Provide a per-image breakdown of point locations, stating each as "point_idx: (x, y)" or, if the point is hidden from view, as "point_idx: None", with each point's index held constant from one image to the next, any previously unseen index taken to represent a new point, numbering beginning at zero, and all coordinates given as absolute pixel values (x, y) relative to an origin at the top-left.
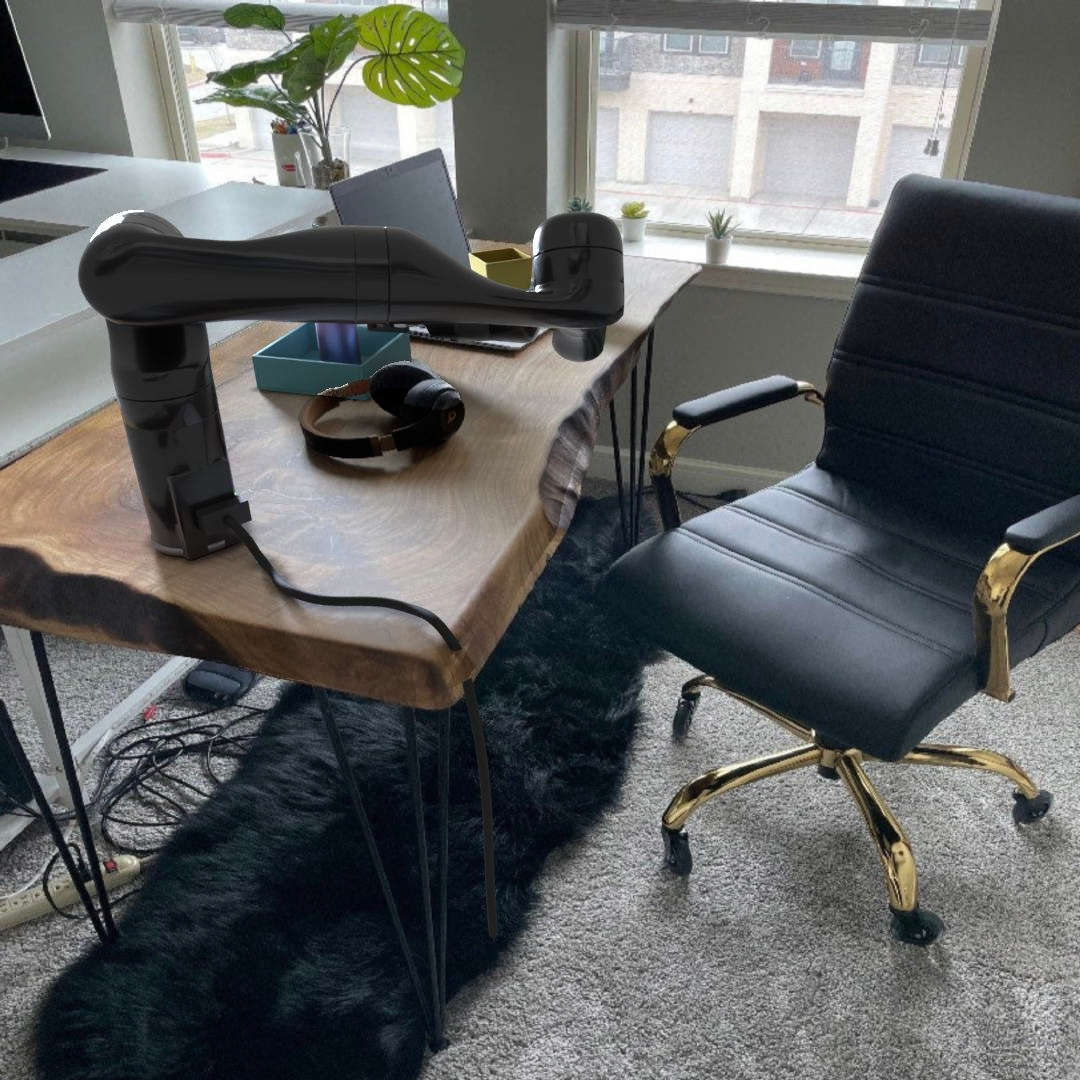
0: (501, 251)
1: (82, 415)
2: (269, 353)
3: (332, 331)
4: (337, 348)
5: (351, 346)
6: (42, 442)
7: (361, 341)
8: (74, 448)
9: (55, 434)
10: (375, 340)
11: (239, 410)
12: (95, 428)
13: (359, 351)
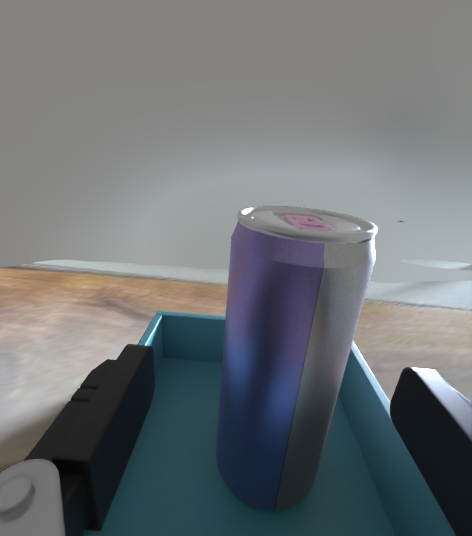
0: None
1: (103, 271)
2: (198, 326)
3: (222, 379)
4: (223, 423)
5: (250, 456)
6: (44, 268)
7: (379, 451)
8: (13, 282)
9: (61, 269)
10: (404, 495)
11: (69, 362)
12: (64, 281)
13: (286, 483)
